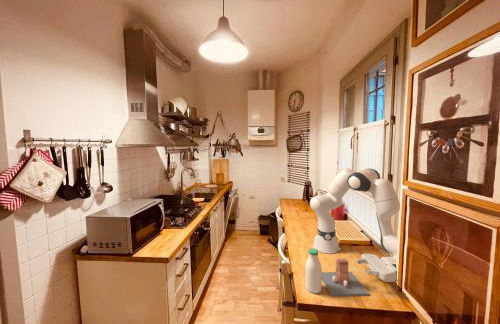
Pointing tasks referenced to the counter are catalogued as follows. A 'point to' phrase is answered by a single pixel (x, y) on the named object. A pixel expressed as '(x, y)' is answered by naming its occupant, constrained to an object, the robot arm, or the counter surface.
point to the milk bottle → (313, 272)
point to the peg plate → (343, 290)
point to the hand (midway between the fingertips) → (361, 266)
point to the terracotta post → (341, 270)
